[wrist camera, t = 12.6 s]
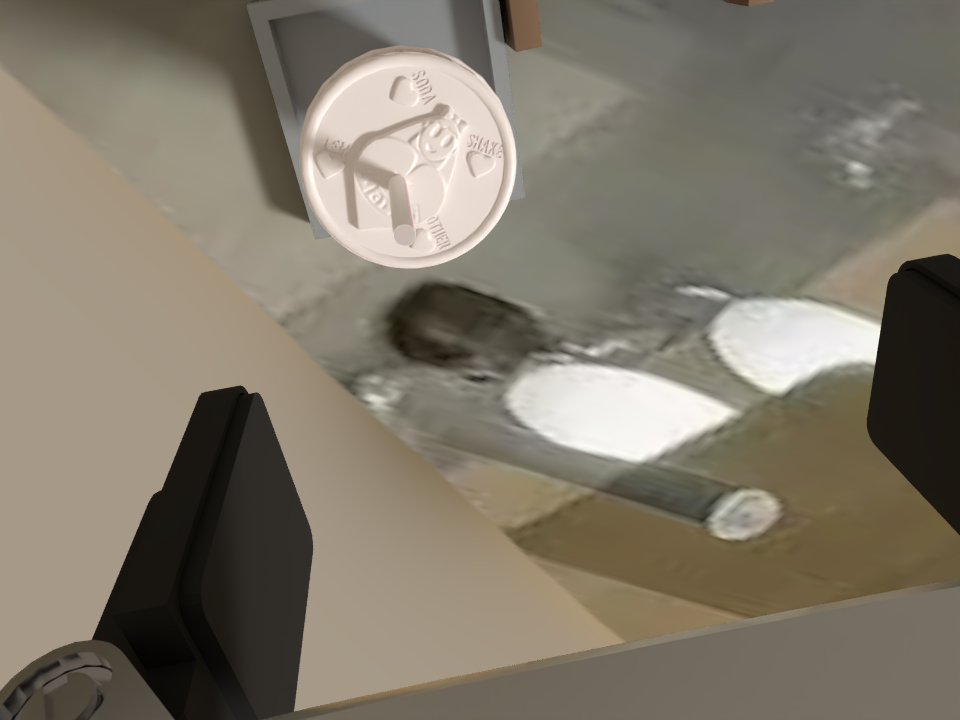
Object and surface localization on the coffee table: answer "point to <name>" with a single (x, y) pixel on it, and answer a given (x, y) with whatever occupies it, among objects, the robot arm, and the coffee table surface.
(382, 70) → the smoothie
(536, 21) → the brown parallel rails
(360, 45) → the tray
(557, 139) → the coffee table surface
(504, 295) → the coffee table surface
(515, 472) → the coffee table surface
